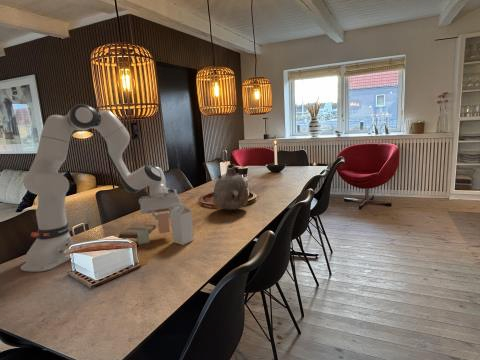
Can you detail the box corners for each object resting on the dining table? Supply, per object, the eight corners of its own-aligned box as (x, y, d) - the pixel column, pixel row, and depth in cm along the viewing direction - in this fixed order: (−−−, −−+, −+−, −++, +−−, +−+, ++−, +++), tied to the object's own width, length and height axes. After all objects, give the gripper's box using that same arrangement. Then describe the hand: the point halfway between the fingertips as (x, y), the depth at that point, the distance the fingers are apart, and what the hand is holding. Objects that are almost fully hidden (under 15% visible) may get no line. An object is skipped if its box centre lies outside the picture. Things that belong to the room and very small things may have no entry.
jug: (206, 210, 200) (203, 164, 194) (233, 203, 213) (230, 160, 207) (230, 219, 182) (228, 168, 175) (257, 211, 195) (256, 163, 189)
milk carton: (184, 237, 157) (181, 201, 154) (193, 240, 153) (191, 203, 149) (173, 242, 152) (169, 204, 148) (182, 245, 148) (179, 206, 144)
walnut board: (144, 237, 160) (144, 234, 160) (119, 236, 162) (119, 234, 162) (156, 227, 173) (155, 225, 173) (132, 227, 176) (132, 224, 175)
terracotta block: (169, 232, 156) (168, 212, 154) (159, 233, 154) (157, 214, 152) (168, 228, 160) (166, 210, 158) (158, 230, 159) (156, 211, 157)
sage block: (149, 242, 153) (148, 232, 152) (138, 244, 152) (137, 234, 151) (148, 238, 158) (147, 229, 157) (138, 240, 156) (137, 231, 155)
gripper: (138, 193, 156) (140, 218, 149) (179, 189, 163) (183, 212, 156) (138, 200, 161) (141, 224, 154) (178, 195, 168) (182, 218, 161)
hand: (163, 218), depth 155 cm, fingers closed on terracotta block, 5 cm apart
